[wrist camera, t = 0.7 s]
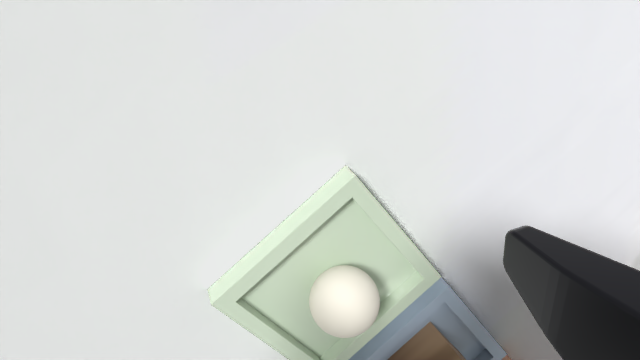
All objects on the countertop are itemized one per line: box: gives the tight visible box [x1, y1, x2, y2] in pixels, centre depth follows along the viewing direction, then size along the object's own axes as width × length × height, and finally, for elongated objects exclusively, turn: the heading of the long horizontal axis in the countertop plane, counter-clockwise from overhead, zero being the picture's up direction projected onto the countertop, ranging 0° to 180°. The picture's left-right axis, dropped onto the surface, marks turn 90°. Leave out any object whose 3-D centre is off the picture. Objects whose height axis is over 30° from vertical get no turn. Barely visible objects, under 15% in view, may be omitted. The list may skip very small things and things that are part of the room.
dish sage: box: [207, 166, 441, 360], centre depth 25 cm, size 9×9×1 cm
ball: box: [309, 265, 380, 338], centre depth 24 cm, size 4×4×4 cm
